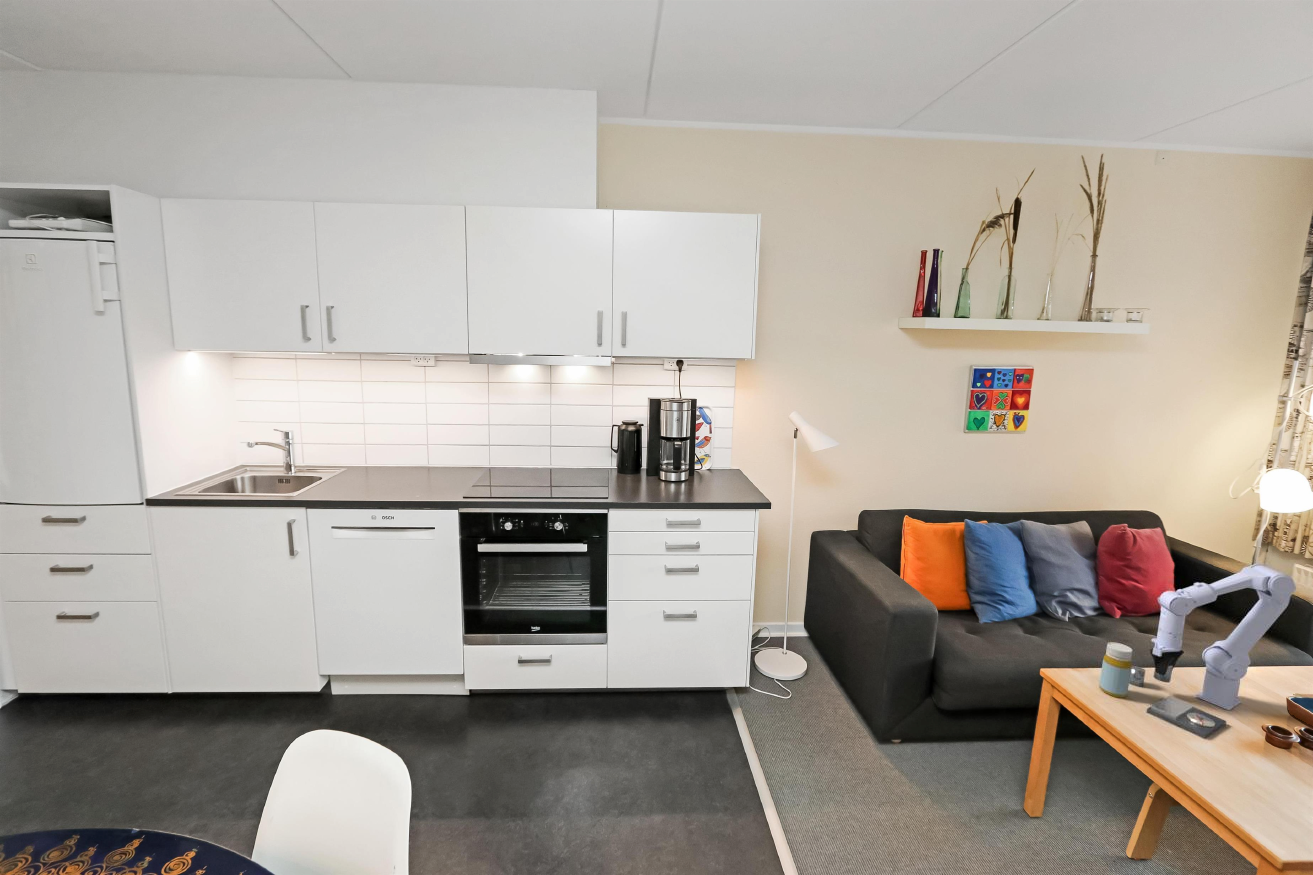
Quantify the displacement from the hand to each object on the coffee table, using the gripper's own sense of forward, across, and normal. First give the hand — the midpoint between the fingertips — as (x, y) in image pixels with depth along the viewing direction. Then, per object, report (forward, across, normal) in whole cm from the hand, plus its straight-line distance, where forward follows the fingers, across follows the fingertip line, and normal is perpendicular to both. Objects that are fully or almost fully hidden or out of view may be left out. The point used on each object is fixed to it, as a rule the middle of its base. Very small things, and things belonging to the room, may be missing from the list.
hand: (1163, 671), depth 187 cm
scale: (+7, +9, +10) cm, 15 cm away
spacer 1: (+7, 0, -7) cm, 10 cm away
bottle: (+7, +13, -7) cm, 17 cm away
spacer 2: (+2, 0, 0) cm, 2 cm away
